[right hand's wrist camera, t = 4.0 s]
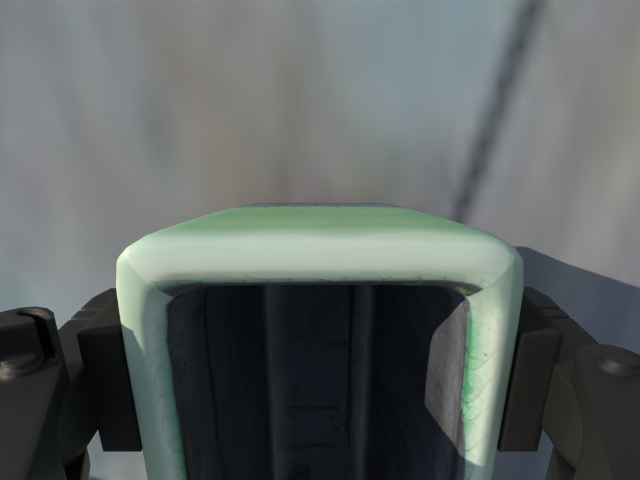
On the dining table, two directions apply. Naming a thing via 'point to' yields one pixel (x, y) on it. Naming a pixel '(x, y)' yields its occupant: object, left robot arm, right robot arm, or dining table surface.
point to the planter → (319, 344)
